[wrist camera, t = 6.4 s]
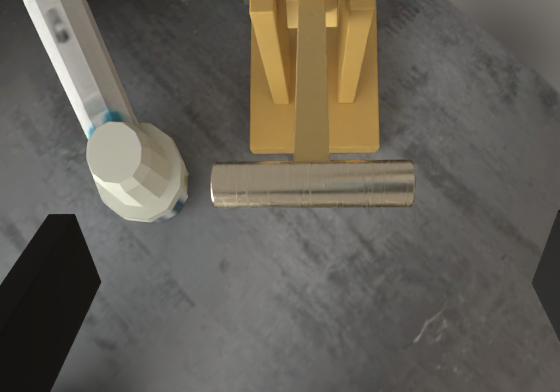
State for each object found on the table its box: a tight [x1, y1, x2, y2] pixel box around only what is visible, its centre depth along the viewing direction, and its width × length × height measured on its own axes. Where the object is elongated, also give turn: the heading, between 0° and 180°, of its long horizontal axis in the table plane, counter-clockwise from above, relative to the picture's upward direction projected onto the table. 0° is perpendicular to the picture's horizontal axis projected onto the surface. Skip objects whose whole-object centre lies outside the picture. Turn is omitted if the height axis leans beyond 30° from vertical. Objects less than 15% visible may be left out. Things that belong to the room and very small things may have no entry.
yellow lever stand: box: [244, 0, 380, 154], centre depth 26 cm, size 10×8×13 cm
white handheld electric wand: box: [23, 0, 189, 222], centre depth 31 cm, size 5×7×25 cm
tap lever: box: [211, 0, 416, 208], centre depth 18 cm, size 13×6×2 cm, turn 1°
